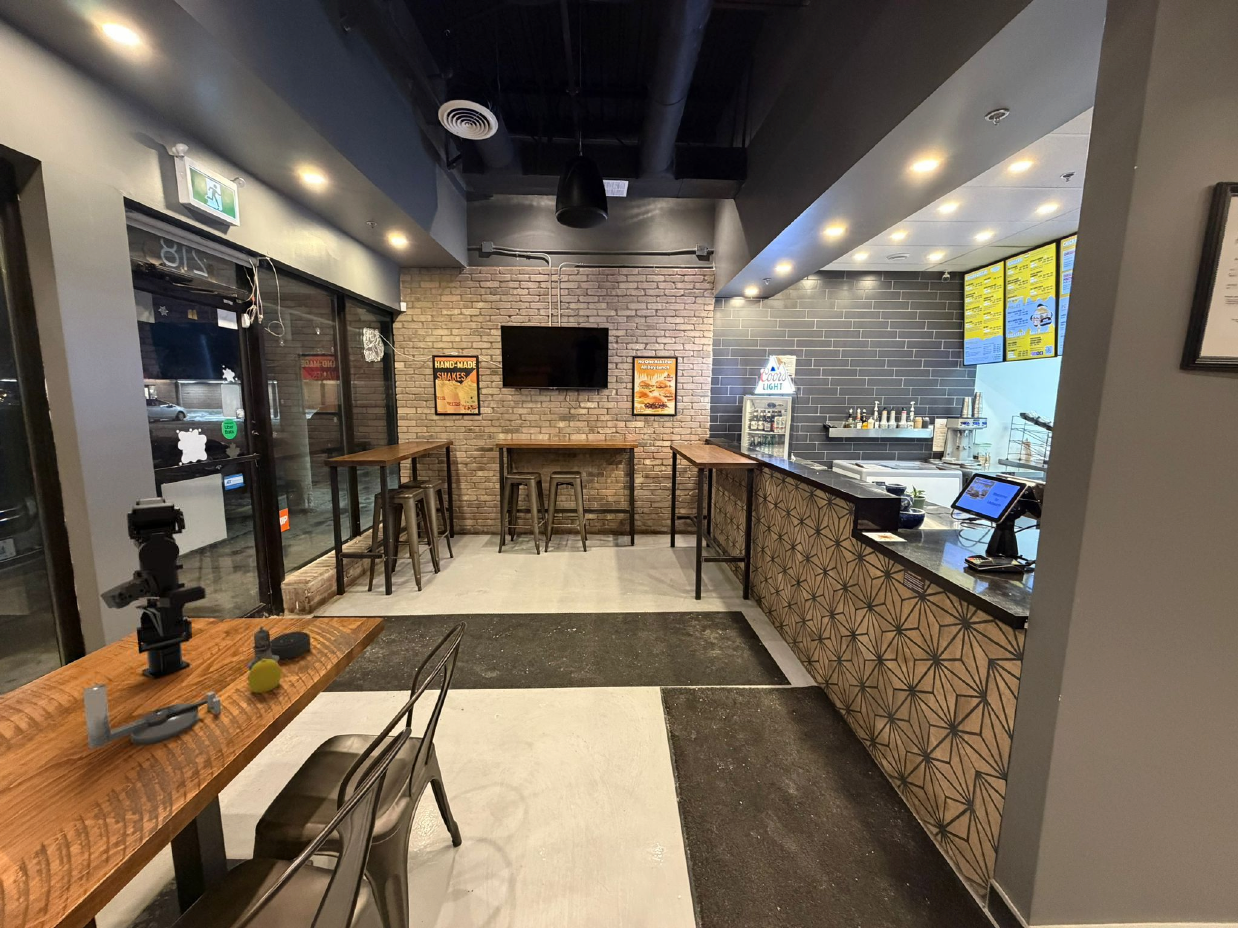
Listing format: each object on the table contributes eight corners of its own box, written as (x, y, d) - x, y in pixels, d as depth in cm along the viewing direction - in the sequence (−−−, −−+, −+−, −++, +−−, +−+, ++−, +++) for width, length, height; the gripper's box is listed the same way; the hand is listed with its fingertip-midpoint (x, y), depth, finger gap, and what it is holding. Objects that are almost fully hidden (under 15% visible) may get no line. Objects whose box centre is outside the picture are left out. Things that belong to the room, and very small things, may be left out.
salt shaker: (262, 684, 102) (259, 633, 101) (241, 681, 103) (237, 630, 102) (286, 670, 108) (283, 622, 107) (266, 667, 109) (263, 619, 108)
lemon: (261, 687, 101) (259, 652, 100) (287, 686, 101) (285, 651, 101) (243, 702, 96) (240, 666, 95) (271, 701, 96) (268, 665, 95)
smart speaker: (261, 656, 115) (260, 640, 114) (300, 641, 122) (300, 627, 122) (277, 666, 110) (276, 650, 110) (317, 650, 117) (316, 635, 117)
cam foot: (86, 760, 77) (79, 693, 76) (127, 721, 87) (122, 662, 86) (183, 742, 81) (177, 679, 80) (212, 707, 91) (207, 650, 90)
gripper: (79, 572, 92) (86, 648, 92) (135, 572, 86) (142, 654, 86) (150, 559, 102) (156, 627, 103) (204, 559, 96) (211, 631, 97)
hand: (165, 635), depth 97 cm, fingers closed
